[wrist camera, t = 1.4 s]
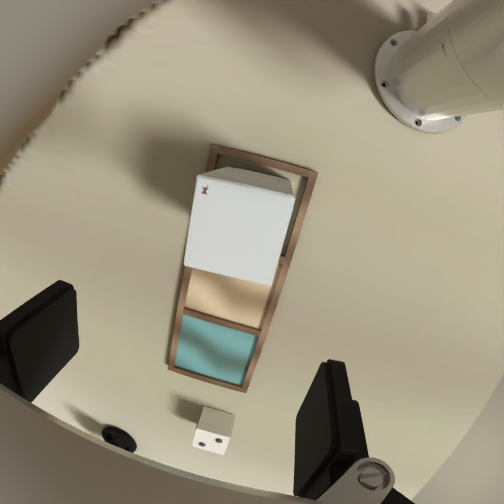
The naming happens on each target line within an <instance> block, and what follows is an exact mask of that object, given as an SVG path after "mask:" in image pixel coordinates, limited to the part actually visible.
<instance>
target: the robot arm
mask: <svg viewBox="0 0 504 504" xmlns="http://www.w3.org/2000/svg"><path fill="white" fill-rule="evenodd" d="M391 43H392V44H393V45H394V46H393V45H391ZM374 77H375V83H376V86H377V89H378V92H379V95H380V97H381V98H382V100H383V102H384V104H385V105H386V106H387V108H388V109H389V110H390V112H391V113H392V114H393V115H394V116H395V117H396V118H397V119H398V120H399V121H401V122H402V123H404V124H405V125H406V126H408V127H410V128H412V129H414V130H416V131H420V132H424V133H432V134H436V133H444V132H447V131H450V130H452V129H454V128H456V127H457V126H459V125H460V124H461V123H462V122H463V120H464V119H465V117H466V116H467V115H469V114H476V113H483V112H491V111H498V110H504V0H453V1H452V2H451V3H449V4H448V5H447V6H446V7H445V8H444V9H442V10H441V11H440V12H439V13H438V14H435V13H433V12H428V13H427V19H426V24H425V25H423V26H422V27H421V28H420V29H419V30H418V31H417V30H406V31H402V32H398V33H396V34H394V35H392V36H390V37H389V38H388V39H387V40H386V41H385V42H384V43H383V44H382V46H381V47H380V48H379V50H378V52H377V55H376V58H375V62H374ZM381 84H384V85H385V87H383V86H382V85H381ZM455 118H456V119H455ZM415 121H416V122H417V125H416V124H415ZM78 349H79V335H78V321H77V299H76V290H74V287H73V285H72V284H69V283H67V282H64V281H62V280H58V281H57V282H55V283H54V284H52V285H50V286H49V287H47V288H46V289H44V290H43V291H41V292H40V293H39V294H37V295H36V296H34V297H33V298H31V299H30V300H28V301H27V302H25V303H24V304H22V305H21V306H20V307H18V308H17V309H15V310H14V311H13V312H11V313H10V314H8V315H7V316H6V317H4V318H3V319H1V320H0V504H415V503H413V502H412V501H410V500H409V499H408V498H406V497H405V496H404V495H402V494H401V493H399V492H398V491H397V490H395V489H394V488H393V485H394V483H395V476H394V473H393V471H392V469H391V468H390V466H388V465H387V464H386V463H385V462H383V461H381V460H379V459H376V458H369V455H368V449H367V444H366V438H365V433H364V428H363V422H362V417H361V412H360V407H359V404H358V402H357V401H356V400H352V397H351V392H350V387H349V382H348V377H347V372H346V367H345V363H344V362H341V361H336V360H331V359H329V360H328V361H327V362H326V363H325V362H322V363H321V364H320V367H319V369H318V371H317V373H316V375H315V378H314V380H313V382H312V384H311V386H310V388H309V391H308V393H307V395H306V397H305V399H304V401H303V403H302V405H301V407H300V409H299V411H298V414H297V417H296V433H295V465H294V489H293V494H294V496H291V495H286V494H281V493H276V492H270V491H264V490H259V489H254V488H249V487H245V486H240V485H236V484H231V483H227V482H223V481H219V480H215V479H211V478H207V477H203V476H200V475H196V474H193V473H189V472H186V471H183V470H179V469H176V468H173V467H170V466H167V465H164V464H161V463H158V462H155V461H153V460H150V459H147V458H144V457H142V456H139V455H136V454H134V453H131V452H129V451H126V450H124V449H121V448H119V447H117V446H114V445H112V444H110V443H107V442H105V441H103V440H101V439H98V438H96V437H94V436H92V435H90V434H88V433H86V432H83V431H81V430H79V429H77V428H75V427H73V426H72V425H70V424H68V423H66V422H64V421H62V420H60V419H58V418H56V417H55V416H53V415H51V414H49V413H47V412H46V411H44V410H42V409H40V408H39V407H37V406H35V405H34V404H32V403H31V402H32V401H33V400H34V399H35V398H36V397H37V396H38V395H39V393H40V392H41V391H42V390H43V389H44V388H45V387H46V386H47V385H48V383H49V382H50V381H51V380H52V379H53V378H54V377H55V376H56V375H57V374H58V373H59V371H60V370H61V369H62V368H63V367H64V366H65V365H66V364H67V363H68V362H69V361H70V360H71V359H72V358H73V356H74V355H75V354H76V353H77V352H78ZM297 496H298V497H297Z"/></svg>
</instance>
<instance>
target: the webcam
mask: <svg viewBox="0 0 504 504" xmlns="http://www.w3.org/2000/svg"><path fill="white" fill-rule="evenodd" d="M109 434H115V435H118V436H117V437H116V438H114V439H111V438H110V437H109ZM102 436H103V439H104V440H105V442H107V443H110V444H112V445H114V446H117V447H119V448H121V449H124V450H126V451H129V452H131V453H133V452H135V450H136V448H137V445H136V442H135V441H134V439H133V438H132V437H131V436H130V435H129V434H127V433H126V432H124V431H122V430H120V429H118V428H115V427H106V428H104V429H103V431H102Z"/></svg>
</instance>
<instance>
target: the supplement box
mask: <svg viewBox="0 0 504 504" xmlns="http://www.w3.org/2000/svg"><path fill="white" fill-rule="evenodd" d="M295 199H296V198H295V196H294V193H293V189H292V185H291V182H290V180H287V179H284V178H280V177H276V176H271V175H267V174H263V173H259V172H254V171H249V170H244V169H239V168H233V167H224V168H221V169H217V170H213V171H210V172H206V173H202V174H199V175H197V177H196V183H195V190H194V196H193V203H192V209H191V216H190V223H189V230H188V237H187V243H186V250H185V257H184V266H188V267H192V268H196V269H200V270H204V271H208V272H212V273H216V274H220V275H224V276H229V277H233V278H237V279H241V280H246V281H250V282H254V283H259V284H263V285H267V286H272V282H273V279H274V275H275V272H276V268H277V265H278V261H279V258H280V254H281V251H282V247H283V243H284V240H285V236H286V232H287V229H288V225H289V222H290V218H291V214H292V210H293V207H294V203H295Z"/></svg>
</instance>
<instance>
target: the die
mask: <svg viewBox="0 0 504 504" xmlns="http://www.w3.org/2000/svg"><path fill="white" fill-rule="evenodd" d="M234 419H235V415H234V414H230V413H226V412H223V411H219V410H215V409H212V408H208V407H205V406H204V408H203V411H202V414H201V417H200V420H199V423H198V424H197V427H196V433H195V437H194V441H193V445H192V446H193V447H197V448H200V449H203V450H207V451H211V452H214V453H218V454H222V455H224V453H225V450H226V447H227V445H228V442H229V440H230V437H231V432H232V428H233V423H234Z"/></svg>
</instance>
